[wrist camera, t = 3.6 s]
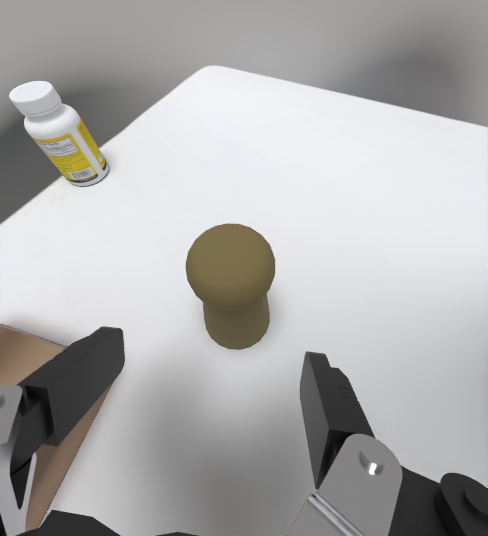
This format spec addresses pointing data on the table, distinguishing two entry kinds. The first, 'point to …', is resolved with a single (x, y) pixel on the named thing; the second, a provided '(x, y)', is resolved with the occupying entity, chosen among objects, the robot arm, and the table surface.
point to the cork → (232, 283)
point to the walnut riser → (48, 457)
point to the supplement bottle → (59, 133)
